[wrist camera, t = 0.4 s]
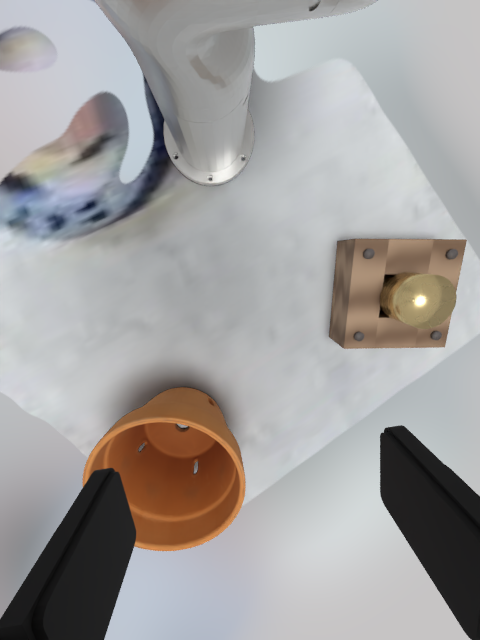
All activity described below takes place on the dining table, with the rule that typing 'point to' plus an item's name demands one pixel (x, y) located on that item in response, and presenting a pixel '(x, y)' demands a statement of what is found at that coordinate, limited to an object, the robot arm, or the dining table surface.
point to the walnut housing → (367, 283)
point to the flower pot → (175, 469)
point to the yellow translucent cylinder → (418, 299)
